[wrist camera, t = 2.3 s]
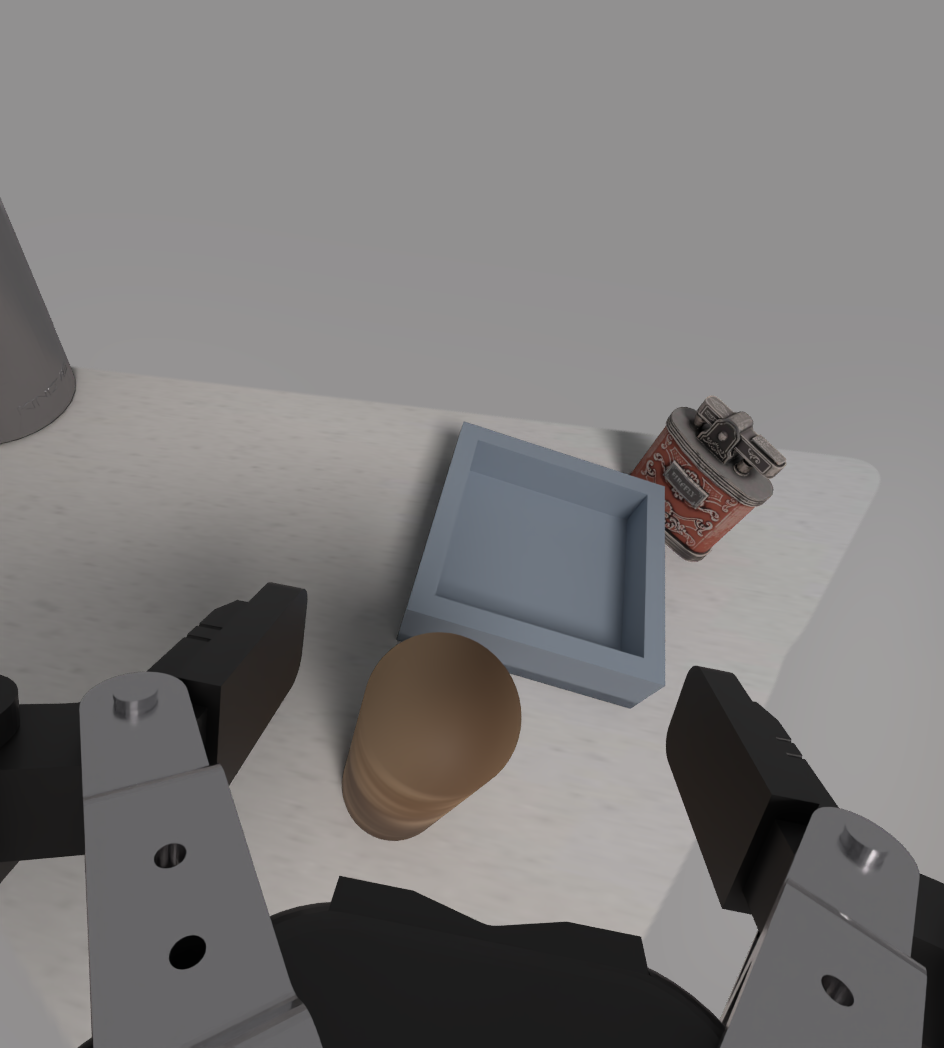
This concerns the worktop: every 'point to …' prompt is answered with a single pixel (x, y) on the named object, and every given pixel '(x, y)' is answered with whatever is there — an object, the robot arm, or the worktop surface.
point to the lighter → (708, 474)
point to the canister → (428, 733)
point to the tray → (547, 567)
